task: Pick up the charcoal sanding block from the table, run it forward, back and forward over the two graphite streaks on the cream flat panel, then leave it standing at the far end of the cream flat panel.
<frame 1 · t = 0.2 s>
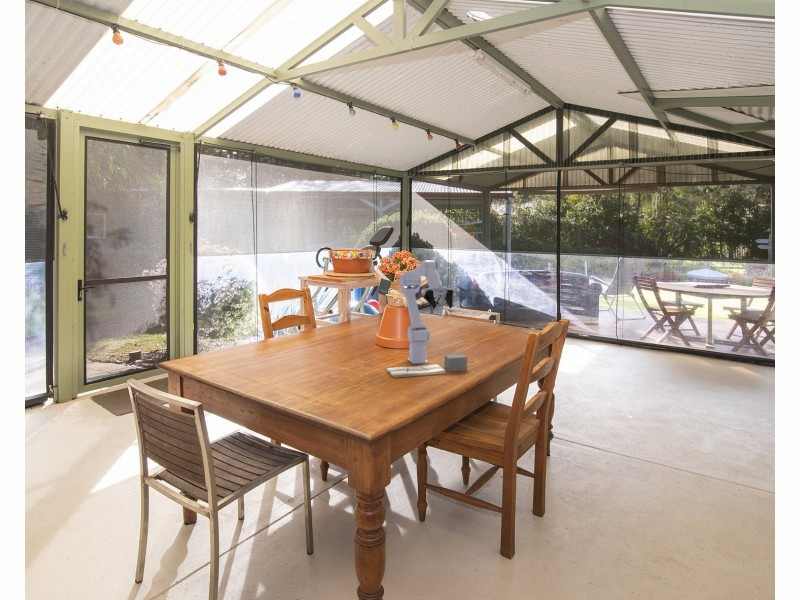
hand: (443, 307, 206), 31 cm above the table, tool tilted 45°, fingers open, 7 cm apart
cream flat panel: (416, 372, 219), on the table
sanding block: (455, 369, 224), on the table
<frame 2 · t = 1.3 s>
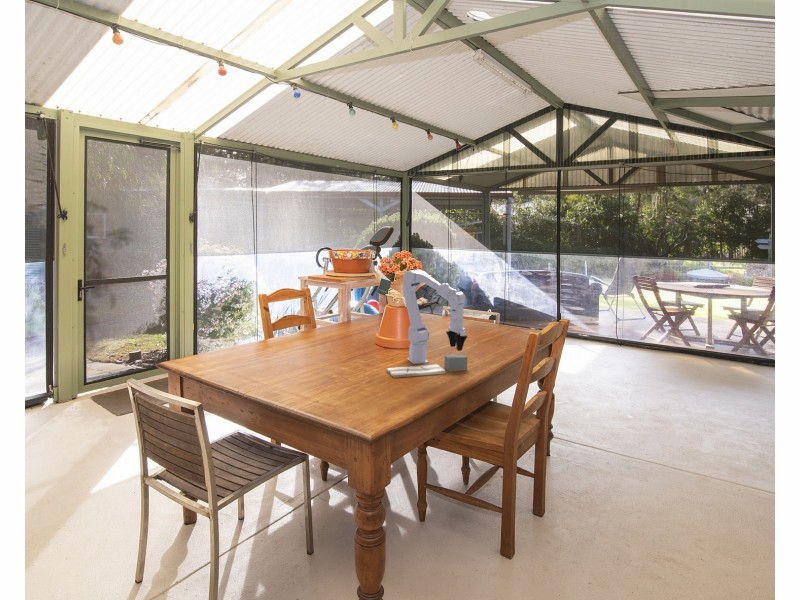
hand: (456, 348, 223), 9 cm above the table, tool pointing down, fingers open, 7 cm apart
nothing on the table moved.
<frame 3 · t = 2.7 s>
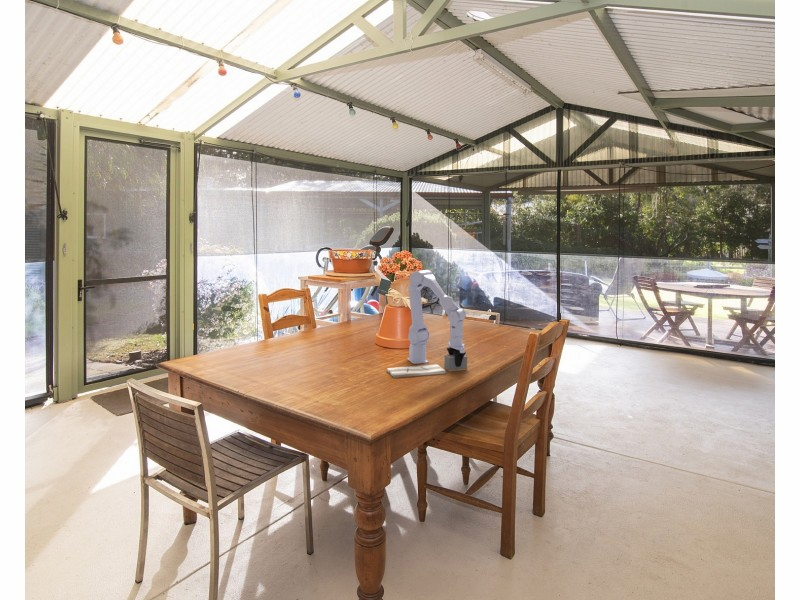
hand: (455, 364, 224), 2 cm above the table, tool pointing down, fingers closed on sanding block, 5 cm apart
sanding block: (455, 368, 224), on the table, touching gripper
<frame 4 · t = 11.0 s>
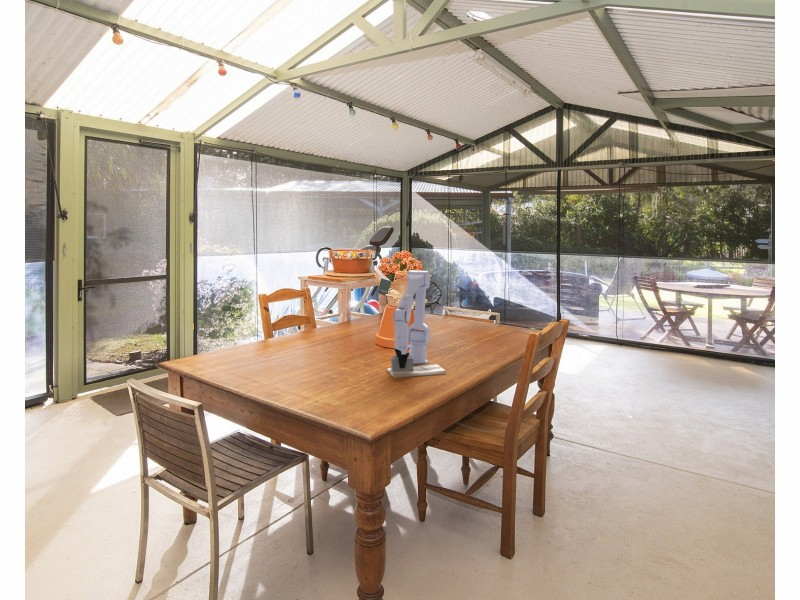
hand: (401, 366, 216), 3 cm above the table, tool pointing down, fingers closed on sanding block, 5 cm apart
sanding block: (402, 370, 216), point 1 cm above the table, touching gripper
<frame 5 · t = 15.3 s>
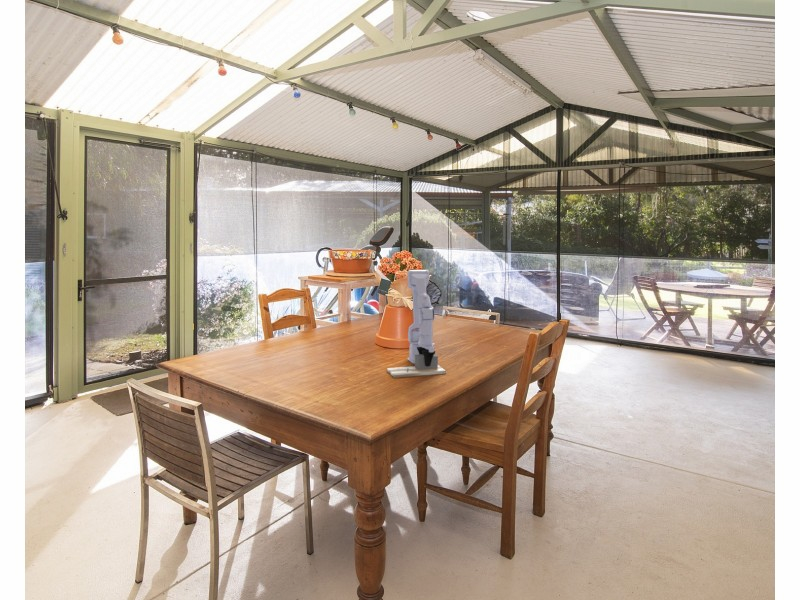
hand: (425, 364, 219), 3 cm above the table, tool pointing down, fingers closed on sanding block, 5 cm apart
sanding block: (426, 368, 220), point 1 cm above the table, touching gripper
when the fingers open (3 cm above the table, at t = 19.3 s): sanding block stays where it is, resting on cream flat panel.
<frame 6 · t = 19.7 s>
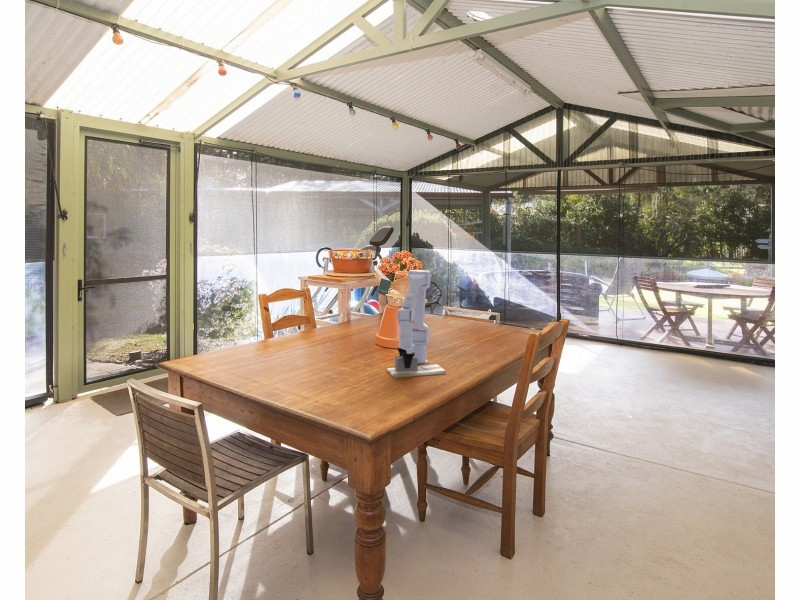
hand: (405, 365, 217), 3 cm above the table, tool pointing down, fingers open, 7 cm apart
sanding block: (406, 370, 217), point 1 cm above the table, touching cream flat panel
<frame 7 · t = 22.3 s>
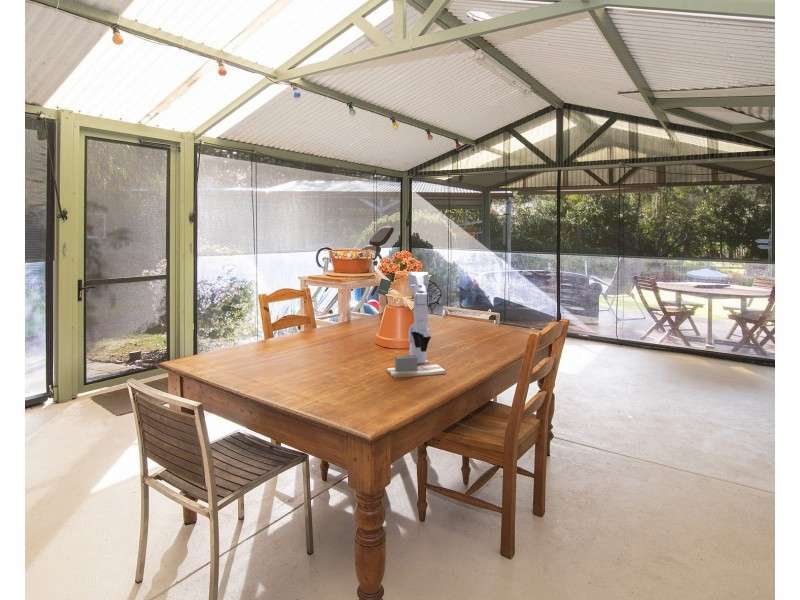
hand: (420, 349, 221), 9 cm above the table, tool pointing down, fingers open, 7 cm apart
nothing on the table moved.
at the end: sanding block inside the target area (0.1 cm from its centre), point 1.2 cm above the table; sanding block tilted 0°; the gripper is holding nothing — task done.
